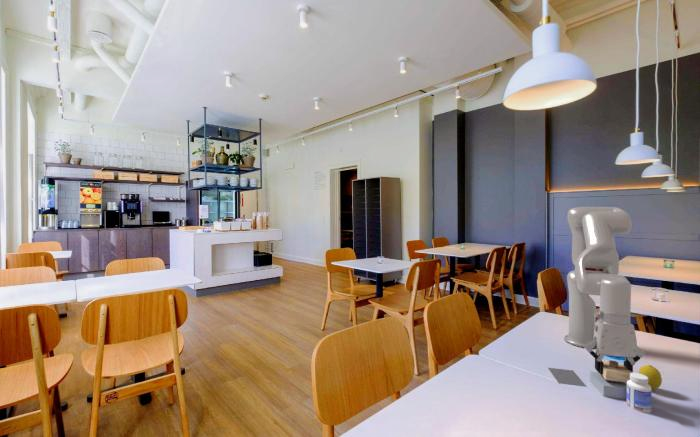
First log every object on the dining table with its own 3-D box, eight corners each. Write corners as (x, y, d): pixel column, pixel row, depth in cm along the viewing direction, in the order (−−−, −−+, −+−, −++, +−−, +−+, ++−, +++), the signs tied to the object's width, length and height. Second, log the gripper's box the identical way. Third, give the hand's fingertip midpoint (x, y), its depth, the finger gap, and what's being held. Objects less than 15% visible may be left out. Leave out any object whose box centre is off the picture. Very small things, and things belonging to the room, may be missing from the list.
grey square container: (590, 383, 108) (590, 371, 108) (622, 387, 106) (622, 374, 106) (603, 398, 100) (603, 385, 99) (638, 402, 97) (638, 389, 97)
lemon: (665, 395, 101) (666, 370, 101) (643, 392, 103) (643, 367, 103) (655, 386, 106) (656, 362, 106) (634, 383, 108) (635, 359, 108)
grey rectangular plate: (547, 369, 118) (547, 367, 118) (573, 372, 116) (573, 370, 116) (558, 385, 107) (558, 383, 107) (586, 388, 105) (586, 386, 105)
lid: (595, 369, 107) (595, 355, 107) (620, 371, 105) (620, 358, 105) (606, 379, 100) (606, 365, 100) (633, 383, 98) (633, 368, 98)
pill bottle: (656, 412, 92) (657, 379, 92) (642, 416, 91) (643, 381, 91) (634, 402, 98) (635, 370, 97) (621, 405, 96) (622, 372, 96)
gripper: (588, 319, 101) (586, 376, 101) (655, 324, 96) (654, 383, 97) (577, 312, 108) (576, 365, 108) (640, 316, 104) (639, 371, 104)
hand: (613, 373), depth 103 cm, fingers closed on lid, 6 cm apart
